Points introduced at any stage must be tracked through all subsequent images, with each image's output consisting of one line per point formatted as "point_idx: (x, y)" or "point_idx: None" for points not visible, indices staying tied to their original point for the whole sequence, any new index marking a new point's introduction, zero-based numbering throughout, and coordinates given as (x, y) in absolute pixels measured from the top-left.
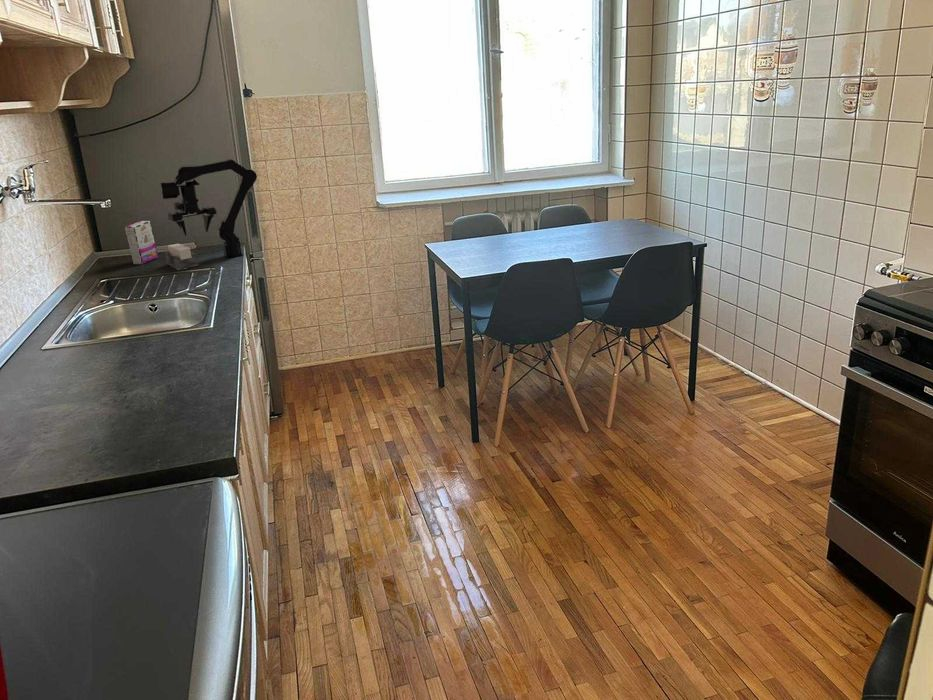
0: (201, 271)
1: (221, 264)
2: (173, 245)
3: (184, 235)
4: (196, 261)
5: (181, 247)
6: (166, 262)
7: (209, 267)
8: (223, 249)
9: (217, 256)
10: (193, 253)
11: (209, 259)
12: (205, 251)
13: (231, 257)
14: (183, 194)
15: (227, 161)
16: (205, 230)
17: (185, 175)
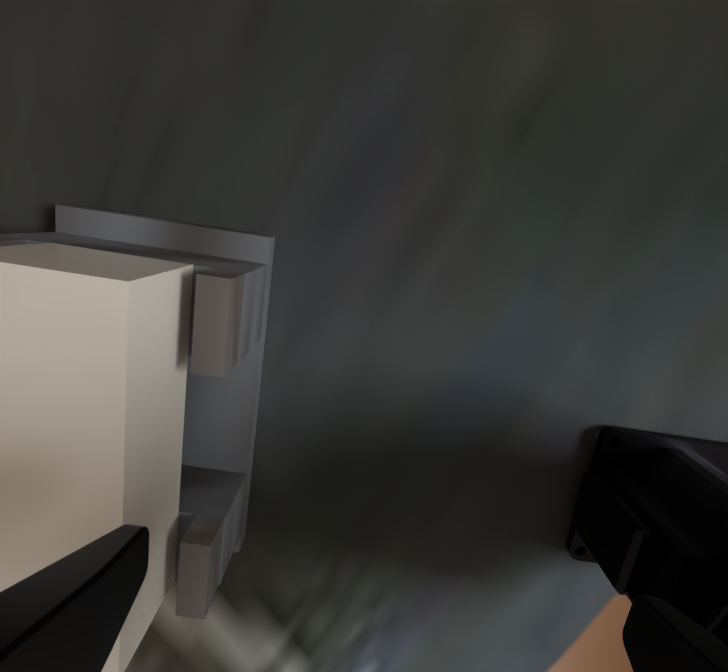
0: (188, 664)
1: (398, 633)
2: (9, 334)
3: (124, 524)
4: (232, 549)
5: (51, 560)
6: (55, 217)
7: (289, 626)
8: (613, 518)
9: (560, 385)
10: (189, 611)
11: (445, 414)
12: (656, 51)
13: (579, 556)
14: None
15: None
16: (655, 615)
17: None
